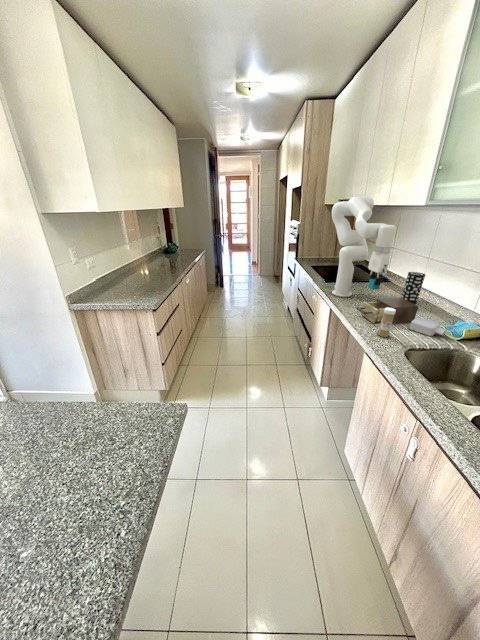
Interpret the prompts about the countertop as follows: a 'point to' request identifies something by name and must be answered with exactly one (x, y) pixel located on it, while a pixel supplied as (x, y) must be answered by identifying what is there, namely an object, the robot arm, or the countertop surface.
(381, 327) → the sprinkles bottle
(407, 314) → the cabinet
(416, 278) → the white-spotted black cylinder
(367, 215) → the robot arm
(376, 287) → the pod
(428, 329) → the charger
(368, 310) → the tray
